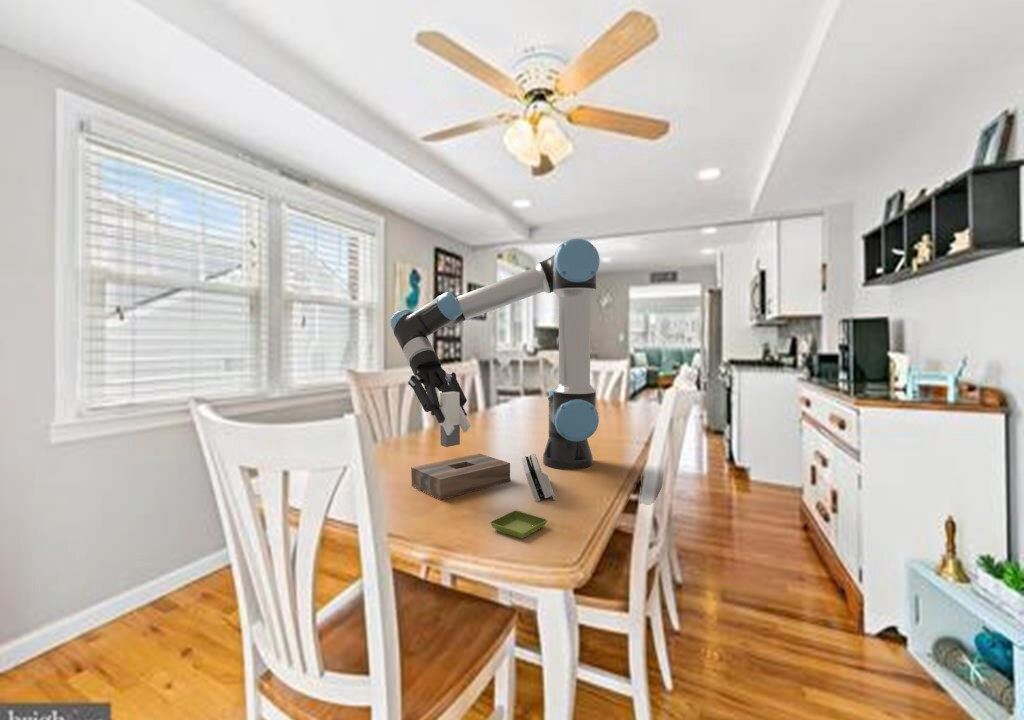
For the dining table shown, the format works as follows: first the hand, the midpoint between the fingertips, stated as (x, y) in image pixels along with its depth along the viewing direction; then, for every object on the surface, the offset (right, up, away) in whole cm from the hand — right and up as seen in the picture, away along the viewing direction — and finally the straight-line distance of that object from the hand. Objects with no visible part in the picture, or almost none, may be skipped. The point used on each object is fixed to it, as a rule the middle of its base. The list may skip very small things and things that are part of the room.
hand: (459, 430), depth 115 cm
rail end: (-3, -4, +3) cm, 6 cm away
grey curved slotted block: (+19, -17, +7) cm, 26 cm away
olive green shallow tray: (+14, -18, -18) cm, 29 cm away
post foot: (-1, -16, +12) cm, 20 cm away
